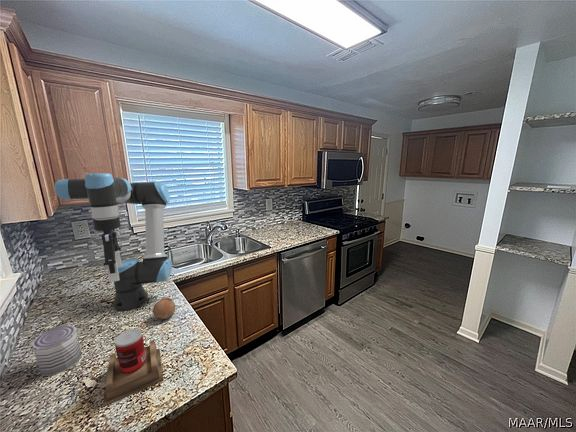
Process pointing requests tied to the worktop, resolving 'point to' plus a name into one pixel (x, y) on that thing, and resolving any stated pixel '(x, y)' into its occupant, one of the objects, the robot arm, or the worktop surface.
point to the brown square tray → (132, 376)
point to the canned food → (130, 350)
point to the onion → (164, 308)
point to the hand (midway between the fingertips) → (116, 273)
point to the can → (57, 349)
